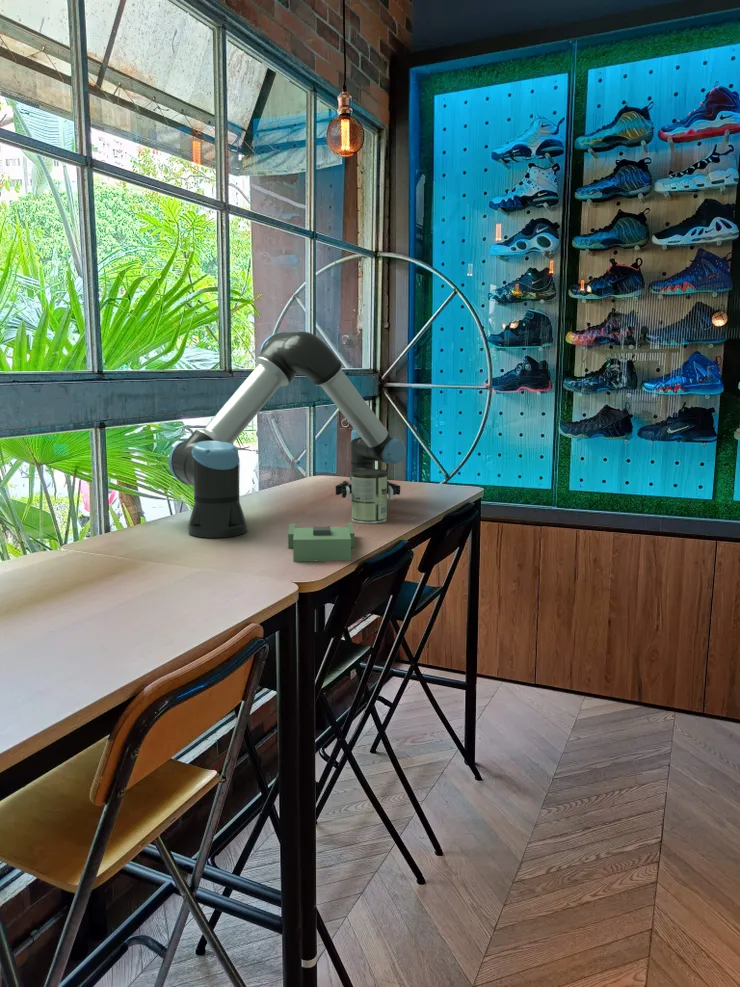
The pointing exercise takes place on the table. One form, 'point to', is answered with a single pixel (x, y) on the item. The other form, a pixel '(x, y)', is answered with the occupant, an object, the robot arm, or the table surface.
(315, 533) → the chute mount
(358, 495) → the coffee can
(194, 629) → the table surface
